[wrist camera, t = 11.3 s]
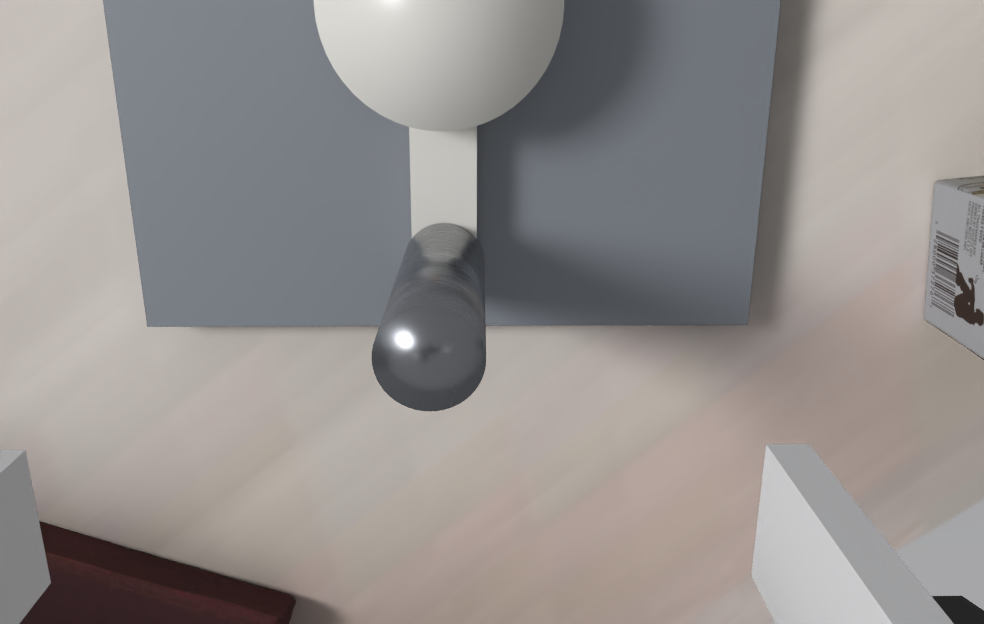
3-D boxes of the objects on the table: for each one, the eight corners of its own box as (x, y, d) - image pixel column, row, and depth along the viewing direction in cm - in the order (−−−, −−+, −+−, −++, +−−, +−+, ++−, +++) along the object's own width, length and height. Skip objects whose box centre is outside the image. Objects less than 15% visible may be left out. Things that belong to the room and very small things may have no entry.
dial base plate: (160, 314, 35) (105, 364, 30) (70, -385, 27) (-27, -482, 22) (736, 312, 35) (781, 361, 30) (804, -380, 28) (879, -475, 23)
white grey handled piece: (314, -295, 27) (209, -501, 16) (565, -292, 27) (618, -494, 17) (343, 290, 33) (280, 410, 23) (547, 291, 33) (578, 411, 23)
